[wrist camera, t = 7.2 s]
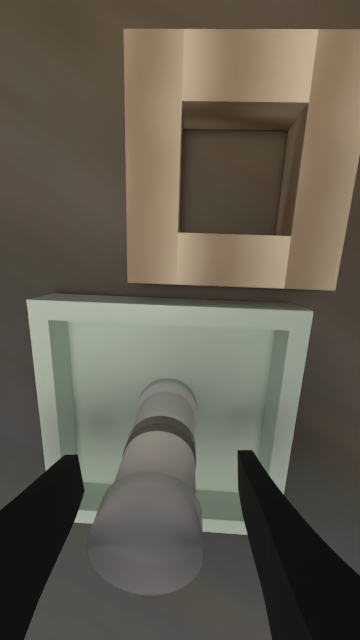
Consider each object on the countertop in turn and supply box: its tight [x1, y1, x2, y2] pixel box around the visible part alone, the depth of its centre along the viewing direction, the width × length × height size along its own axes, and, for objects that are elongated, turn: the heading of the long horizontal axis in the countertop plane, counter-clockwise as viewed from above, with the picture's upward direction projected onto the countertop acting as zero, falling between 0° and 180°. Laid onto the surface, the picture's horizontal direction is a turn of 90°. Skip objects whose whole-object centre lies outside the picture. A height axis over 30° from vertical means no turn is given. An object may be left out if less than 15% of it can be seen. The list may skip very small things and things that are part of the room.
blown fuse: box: [87, 378, 204, 595], centre depth 11 cm, size 4×4×8 cm
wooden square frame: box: [124, 29, 360, 291], centre depth 12 cm, size 10×10×2 cm
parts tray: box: [27, 293, 314, 535], centre depth 15 cm, size 14×14×2 cm
